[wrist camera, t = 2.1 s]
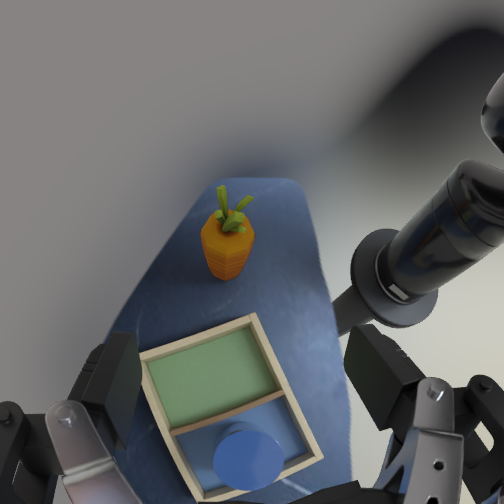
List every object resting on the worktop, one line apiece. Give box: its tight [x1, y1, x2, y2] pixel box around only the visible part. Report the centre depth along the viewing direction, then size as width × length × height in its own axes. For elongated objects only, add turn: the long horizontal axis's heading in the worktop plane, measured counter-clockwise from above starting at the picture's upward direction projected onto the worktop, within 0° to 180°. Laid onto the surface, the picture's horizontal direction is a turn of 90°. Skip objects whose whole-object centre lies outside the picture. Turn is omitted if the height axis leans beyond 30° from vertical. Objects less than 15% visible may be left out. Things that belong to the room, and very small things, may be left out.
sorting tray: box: [139, 312, 324, 503], centre depth 26 cm, size 14×18×3 cm
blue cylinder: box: [213, 421, 284, 491], centre depth 22 cm, size 6×6×7 cm
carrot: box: [201, 185, 255, 281], centre depth 28 cm, size 5×5×15 cm
